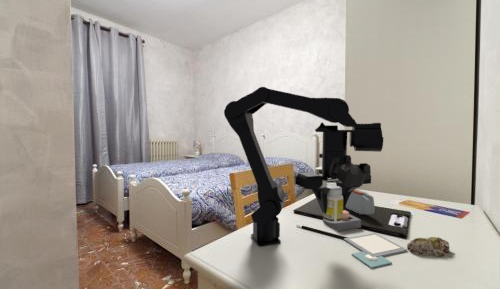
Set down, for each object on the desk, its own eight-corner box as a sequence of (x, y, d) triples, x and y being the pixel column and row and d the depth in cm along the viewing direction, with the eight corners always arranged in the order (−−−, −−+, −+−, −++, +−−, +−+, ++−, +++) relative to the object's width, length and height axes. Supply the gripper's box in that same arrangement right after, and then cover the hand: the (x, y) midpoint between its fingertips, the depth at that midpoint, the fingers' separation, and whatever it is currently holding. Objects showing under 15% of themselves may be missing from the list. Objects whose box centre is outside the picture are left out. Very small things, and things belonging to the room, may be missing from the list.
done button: (340, 222, 75) (340, 215, 74) (331, 217, 79) (331, 210, 79) (352, 220, 76) (352, 213, 76) (342, 215, 80) (342, 209, 80)
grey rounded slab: (375, 218, 83) (376, 195, 82) (368, 219, 82) (369, 196, 81) (345, 205, 96) (345, 185, 96) (339, 206, 95) (339, 186, 95)
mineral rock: (427, 231, 67) (457, 236, 60) (431, 248, 67) (461, 255, 59) (394, 236, 65) (420, 242, 58) (397, 253, 64) (424, 262, 57)
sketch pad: (372, 258, 57) (372, 256, 57) (343, 239, 67) (343, 238, 67) (407, 251, 61) (407, 249, 61) (375, 234, 70) (375, 232, 70)
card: (371, 268, 54) (371, 266, 53) (351, 254, 59) (351, 253, 59) (391, 263, 55) (391, 261, 55) (371, 250, 61) (371, 249, 61)
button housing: (339, 231, 72) (339, 223, 72) (323, 221, 80) (323, 213, 80) (360, 227, 75) (361, 219, 75) (343, 218, 83) (343, 211, 82)
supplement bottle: (339, 216, 63) (340, 185, 63) (345, 224, 59) (346, 190, 58) (321, 216, 64) (321, 184, 63) (324, 223, 59) (325, 189, 59)
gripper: (321, 155, 49) (320, 230, 51) (391, 152, 55) (388, 219, 57) (294, 150, 60) (293, 212, 61) (355, 148, 66) (353, 204, 67)
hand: (332, 211), depth 61 cm, fingers closed on supplement bottle, 5 cm apart
